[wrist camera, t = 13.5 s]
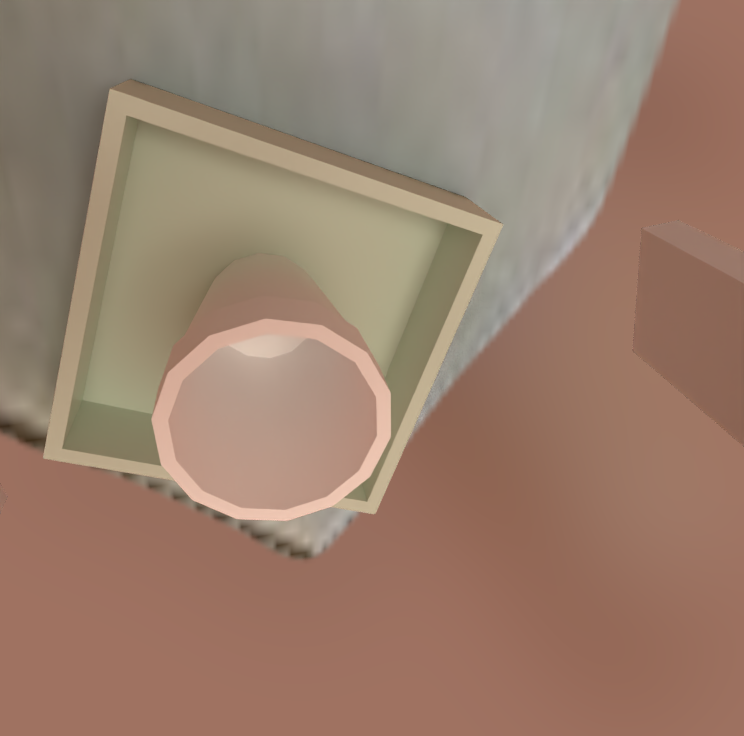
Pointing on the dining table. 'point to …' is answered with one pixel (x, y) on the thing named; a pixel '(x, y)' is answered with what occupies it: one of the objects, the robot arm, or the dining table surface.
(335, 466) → the foam cup
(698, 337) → the robot arm
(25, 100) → the dining table surface
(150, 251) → the bin
